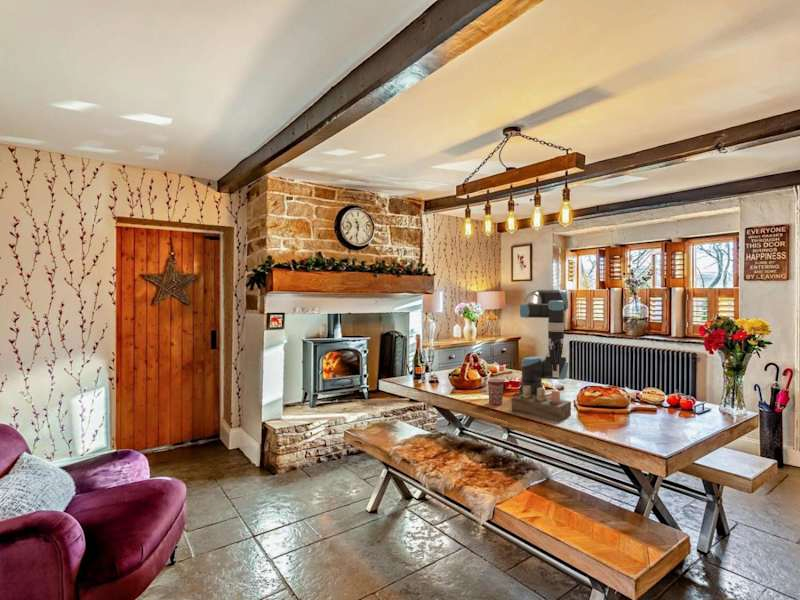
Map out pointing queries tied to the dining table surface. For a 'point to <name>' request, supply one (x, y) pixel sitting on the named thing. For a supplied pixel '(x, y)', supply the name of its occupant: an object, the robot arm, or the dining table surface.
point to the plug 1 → (526, 392)
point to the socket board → (541, 407)
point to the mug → (496, 391)
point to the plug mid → (541, 394)
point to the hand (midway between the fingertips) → (555, 377)
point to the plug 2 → (555, 397)
